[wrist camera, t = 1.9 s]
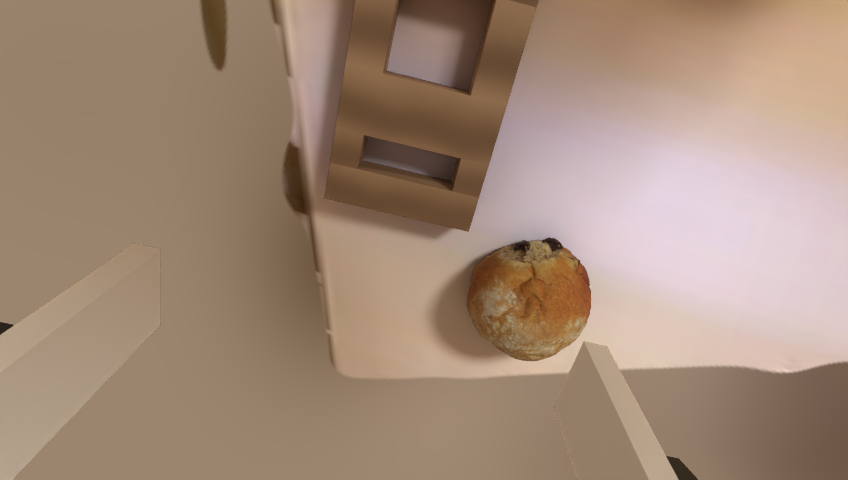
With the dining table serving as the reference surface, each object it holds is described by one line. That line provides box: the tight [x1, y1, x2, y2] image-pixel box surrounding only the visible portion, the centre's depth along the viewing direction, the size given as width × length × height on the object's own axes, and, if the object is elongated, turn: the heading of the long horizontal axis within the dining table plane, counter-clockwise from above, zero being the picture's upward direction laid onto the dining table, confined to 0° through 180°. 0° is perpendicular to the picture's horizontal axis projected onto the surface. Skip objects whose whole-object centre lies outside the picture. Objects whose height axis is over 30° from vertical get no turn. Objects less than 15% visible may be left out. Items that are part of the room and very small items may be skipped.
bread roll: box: [467, 238, 591, 361], centre depth 38 cm, size 10×10×8 cm
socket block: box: [324, 0, 538, 232], centre depth 32 cm, size 18×11×2 cm, turn 167°
